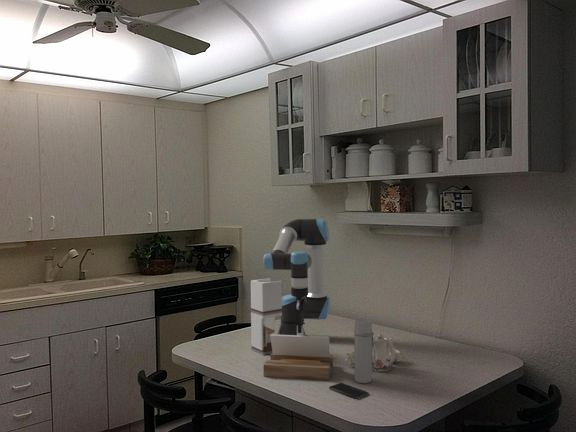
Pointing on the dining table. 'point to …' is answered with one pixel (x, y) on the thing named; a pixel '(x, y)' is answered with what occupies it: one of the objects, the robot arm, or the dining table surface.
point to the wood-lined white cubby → (264, 313)
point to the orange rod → (300, 360)
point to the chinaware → (380, 354)
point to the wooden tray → (299, 367)
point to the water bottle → (363, 351)
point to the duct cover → (300, 345)
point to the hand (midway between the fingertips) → (300, 339)
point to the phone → (348, 391)
